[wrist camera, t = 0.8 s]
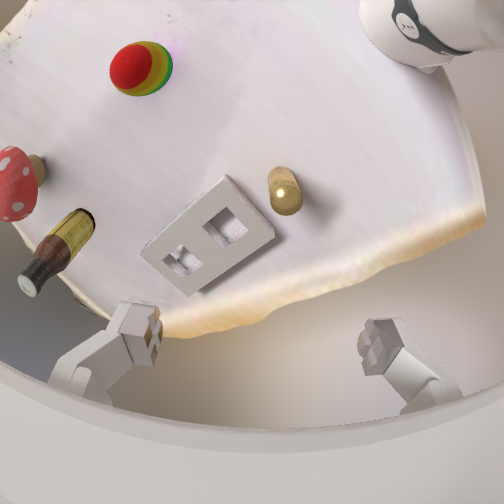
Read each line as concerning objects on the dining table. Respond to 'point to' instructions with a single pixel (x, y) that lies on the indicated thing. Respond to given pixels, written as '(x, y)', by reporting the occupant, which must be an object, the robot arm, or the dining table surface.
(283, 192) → the brass cylinder
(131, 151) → the dining table surface
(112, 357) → the robot arm
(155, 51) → the decorative egg
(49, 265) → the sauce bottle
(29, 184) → the decorative mushroom
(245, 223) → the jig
